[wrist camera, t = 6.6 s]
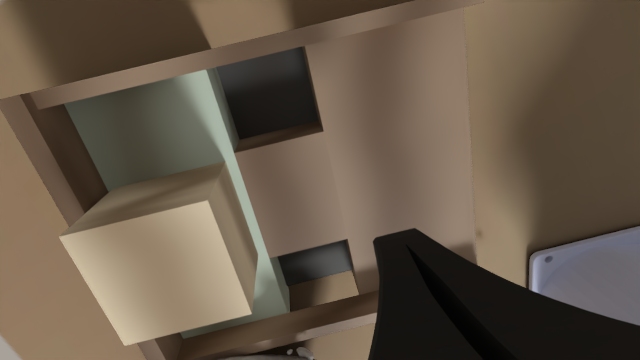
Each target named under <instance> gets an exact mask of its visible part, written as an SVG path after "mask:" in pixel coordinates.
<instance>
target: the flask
mask: <svg viewBox="0 0 640 360" xmlns="http://www.w3.org/2000/svg"><path fill="white" fill-rule="evenodd" d="M292 351H293V350H292V349H290V350H288V351H287V354H291V353H292ZM296 351H297V353H298V354H299V356H302V357H296V356H294V355H290V356H288V355H274V354H266V355H245V356H231V357H225V358H217V359H215V360H315V359H313V357H314V356H313V353H312V352H311V351H309V350H308V349H306V348H303V347H299V348H297V350H296Z"/></svg>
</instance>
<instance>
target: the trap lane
mask: <svg viewBox="0 0 640 360" xmlns="http://www.w3.org/2000/svg"><path fill="white" fill-rule="evenodd" d="M480 3H484V0H414V1H410V2H406V3H401V4H397V5H393V6H389V7H385V8H381V9H376V10H372V11H368V12H364V13H360V14H356V15H351V16H347V17H343V18H339V19H335V20H331V21H326V22H322V23H318V24H314V25H310V26H306V27H301V28H297V29H293V30H289V31H285V32H281V33H276V34H272V35H268V36H264V37H260V38H255V39H251V40H247V41H243V42H239V43H235V44H230V45H226V46H222V47H218V48H214V49H210V50H205V51H201V52H197V53H193V54H189V55H185V56H180V57H176V58H172V59H168V60H164V61H160V62H155V63H151V64H147V65H143V66H139V67H135V68H130V69H126V70H122V71H118V72H114V73H110V74H105V75H101V76H97V77H93V78H89V79H84V80H80V81H76V82H72V83H68V84H64V85H59V86H55V87H51V88H47V89H43V90H39V91H34V92H30V93H26V94H21V95H17V96H12V97H8V98H4V99H0V109H1V111H2V112H3V114H4V116H5V118H6V119H7V121H8V123H9V124H10V126H11V128H12V130H13V131H14V133H15V135H16V136H17V138H18V140H19V142H20V143H21V145H22V147H23V148H24V150H25V152H26V154H27V155H28V157H29V159H30V160H31V162H32V164H33V166H34V167H35V169H36V171H37V172H38V174H39V176H40V178H41V179H42V181H43V183H44V184H45V186H46V188H47V190H48V191H49V193H50V195H51V196H52V198H53V200H54V202H55V203H56V205H57V207H58V208H59V210H60V212H61V214H62V215H63V217H64V219H65V220H66V222H67V224H68V226H69V227H71V226H72V225H73V224H74V223H75V222H76V221H77V220H78V219H80V218H81V217H82V216H83V215H84V214H85V213H86V212H87V211H89V210H90V209H91V208H92V207H93V206H94V205H95V204H96V203H98V202H99V201H100V200H101V199H102V198H103V197H104V196H105V195H107V194H108V193H109V192H110V191H111V190H112V189H114V188H118V187H122V186H126V185H130V184H134V183H138V182H142V181H146V180H151V179H155V178H159V177H163V176H167V175H171V174H175V173H179V172H183V171H187V170H191V169H196V168H200V167H204V166H208V165H212V164H216V163H220V162H224V161H226V164H227V167H228V169H229V172H230V175H231V178H232V181H233V184H234V187H235V190H236V192H237V195H238V198H239V201H240V204H241V207H242V210H243V212H244V215H245V218H246V221H247V224H248V227H249V230H250V233H251V235H252V238H253V241H254V244H255V247H256V250H257V253H258V262H257V271H256V281H255V290H254V300H253V309H252V314H250V315H246V316H242V317H238V318H234V319H230V320H226V321H222V322H218V323H214V324H210V325H206V326H202V327H198V328H194V329H190V330H186V331H182V332H178V333H174V334H170V335H166V336H162V337H158V338H154V339H150V340H146V341H142V342H138V343H137V344H138V346H139V347H140V349H141V351H142V353H143V354H144V356H145V358H146V359H147V360H215V359H217V358H225V357H231V356H244V355H248V354H252V353H256V352H259V351H263V350H267V349H271V348H275V347H279V346H283V345H287V344H291V343H295V342H299V341H303V340H307V339H311V338H315V337H319V336H323V335H327V334H331V333H335V332H339V331H343V330H347V329H351V328H355V327H359V326H363V325H367V324H371V323H375V322H376V317H377V309H378V297H379V272H378V267H377V262H376V256H375V251H374V246H373V240H374V239H375V238H376V237H379V236H383V235H387V234H391V233H395V232H399V231H403V230H408V229H412V228H416V229H418V230H419V231H421V232H422V233H424V234H425V235H427V236H429V237H430V238H432V239H433V240H435V241H437V242H438V243H440V244H441V245H443V246H445V247H446V248H448V249H449V250H451V251H453V252H454V253H456V254H458V255H460V256H461V257H463V258H465V259H467V260H468V261H470V262H472V263H474V264H476V265H477V251H476V231H475V212H474V193H473V173H472V154H471V134H470V115H469V96H468V76H467V57H466V37H465V18H464V7H468V6H472V5H476V4H480ZM349 270H352V272H353V276H354V279H355V282H356V285H357V289H358V292H359V295H357V296H353V297H349V298H345V299H341V300H337V301H333V302H329V303H325V304H321V305H317V306H313V307H309V308H305V309H301V310H297V311H293V312H290V297H289V288H288V286H289V285H293V284H297V283H301V282H305V281H309V280H313V279H317V278H321V277H325V276H329V275H333V274H337V273H341V272H345V271H349Z"/></svg>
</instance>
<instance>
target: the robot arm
mask: <svg viewBox="0 0 640 360" xmlns="http://www.w3.org/2000/svg"><path fill="white" fill-rule="evenodd" d="M373 246H374V251H375V256H376V262H377V267H378V272H379V297H378V309H377V317H376V324H375V330H374V335H373V340H372V345H371V349H370V354H369V358H368V360H640V226H638V227H634V228H630V229H626V230H622V231H618V232H614V233H610V234H606V235H602V236H598V237H594V238H590V239H586V240H582V241H578V242H574V243H570V244H566V245H562V246H558V247H554V248H550V249H546V250H542V251H538V252H535V253H533V254H532V255H531V257H530V263H529V289H527V288H525V287H522V286H520V285H517V284H515V283H513V282H510V281H508V280H506V279H504V278H502V277H500V276H497V275H495V274H493V273H491V272H489V271H488V270H486V269H484V268H482V267H480V266H478V265H476V264H474V263H472V262H470V261H468V260H467V259H465V258H463V257H461V256H460V255H458V254H456V253H454V252H453V251H451V250H449V249H448V248H446V247H445V246H443V245H441V244H440V243H438V242H437V241H435V240H433V239H432V238H430V237H429V236H427V235H425V234H424V233H422V232H421V231H419V230H418V229H416V228H412V229H408V230H403V231H399V232H395V233H391V234H387V235H383V236H379V237H376V238H375V239H374V240H373ZM546 257H547V258H546ZM545 258H546V259H545Z"/></svg>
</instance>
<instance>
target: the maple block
mask: <svg viewBox="0 0 640 360" xmlns="http://www.w3.org/2000/svg"><path fill="white" fill-rule="evenodd" d="M59 238H60V240H61V241H62V243H63V245H64V246H65V248H66V250H67V251H68V253H69V254H70V256H71V258H72V259H73V261H74V263H75V264H76V266H77V268H78V269H79V271H80V273H81V274H82V276H83V278H84V279H85V281H86V283H87V284H88V286H89V288H90V289H91V291H92V292H93V294H94V296H95V297H96V299H97V301H98V302H99V304H100V306H101V307H102V309H103V311H104V312H105V314H106V316H107V317H108V319H109V321H110V322H111V324H112V326H113V327H114V329H115V330H116V332H117V334H118V335H119V337H120V339H121V340H122V342H123V344H124V345H125V346H126V345H130V344H134V343H138V342H142V341H146V340H150V339H154V338H158V337H162V336H166V335H170V334H174V333H178V332H182V331H186V330H190V329H194V328H198V327H202V326H206V325H210V324H214V323H218V322H222V321H226V320H230V319H234V318H238V317H242V316H246V315H250V314H252V309H253V300H254V290H255V281H256V271H257V262H258V253H257V250H256V247H255V244H254V241H253V238H252V235H251V233H250V230H249V227H248V224H247V221H246V218H245V215H244V212H243V210H242V207H241V204H240V201H239V198H238V195H237V192H236V190H235V187H234V184H233V181H232V178H231V175H230V172H229V169H228V167H227V164H226V161H224V162H220V163H216V164H212V165H208V166H204V167H200V168H196V169H191V170H187V171H183V172H179V173H175V174H171V175H167V176H163V177H159V178H155V179H151V180H146V181H142V182H138V183H134V184H130V185H126V186H122V187H118V188H114V189H112V190H111V191H110V192H109V193H108V194H107V195H105V196H104V197H103V198H102V199H101V200H100V201H99V202H98V203H96V204H95V205H94V206H93V207H92V208H91V209H90V210H89V211H87V212H86V213H85V214H84V215H83V216H82V217H81V218H80V219H78V220H77V221H76V222H75V223H74V224H73V225H72V226H71V227H69V228H68V229H67V230H66V231H65V232H64V233H63V234H62V235H60V236H59Z"/></svg>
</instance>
